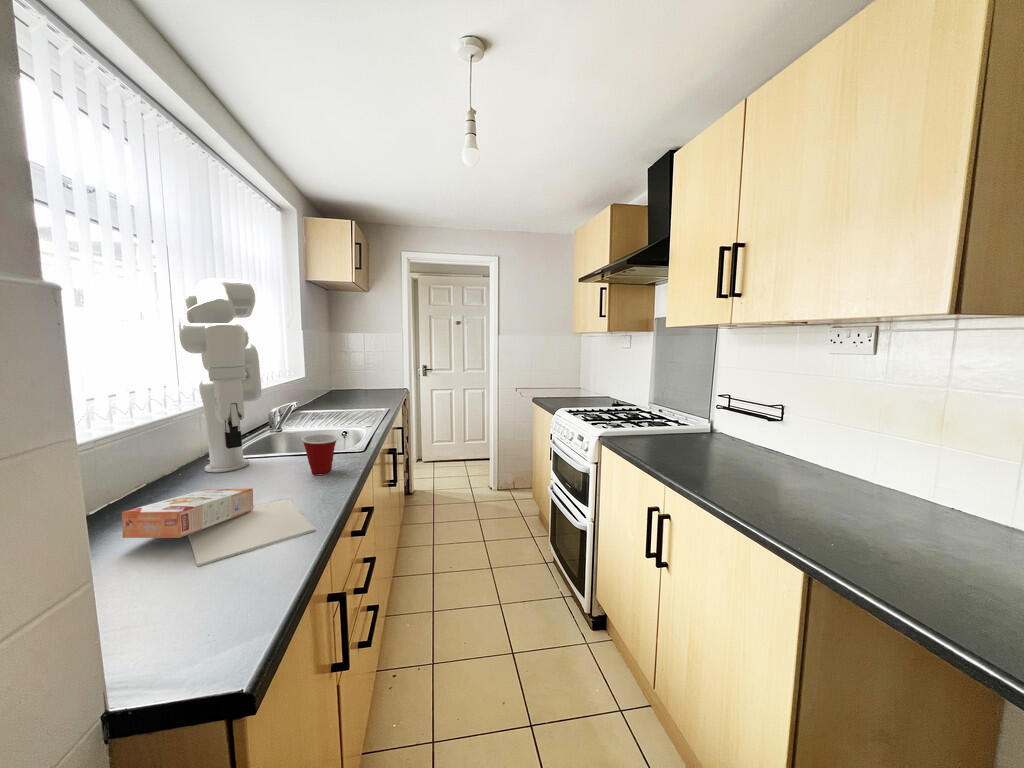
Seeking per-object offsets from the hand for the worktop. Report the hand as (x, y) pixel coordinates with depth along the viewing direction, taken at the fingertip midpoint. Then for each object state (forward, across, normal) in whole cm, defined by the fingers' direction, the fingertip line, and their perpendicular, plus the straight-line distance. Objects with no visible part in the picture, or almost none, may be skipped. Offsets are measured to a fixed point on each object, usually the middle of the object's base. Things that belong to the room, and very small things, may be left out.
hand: (234, 446), depth 104 cm
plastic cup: (+18, -18, +26) cm, 36 cm away
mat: (+17, +12, 0) cm, 21 cm away
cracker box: (+14, -4, -1) cm, 15 cm away
